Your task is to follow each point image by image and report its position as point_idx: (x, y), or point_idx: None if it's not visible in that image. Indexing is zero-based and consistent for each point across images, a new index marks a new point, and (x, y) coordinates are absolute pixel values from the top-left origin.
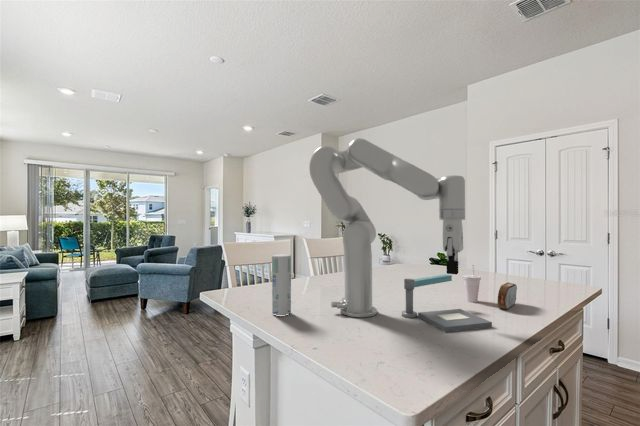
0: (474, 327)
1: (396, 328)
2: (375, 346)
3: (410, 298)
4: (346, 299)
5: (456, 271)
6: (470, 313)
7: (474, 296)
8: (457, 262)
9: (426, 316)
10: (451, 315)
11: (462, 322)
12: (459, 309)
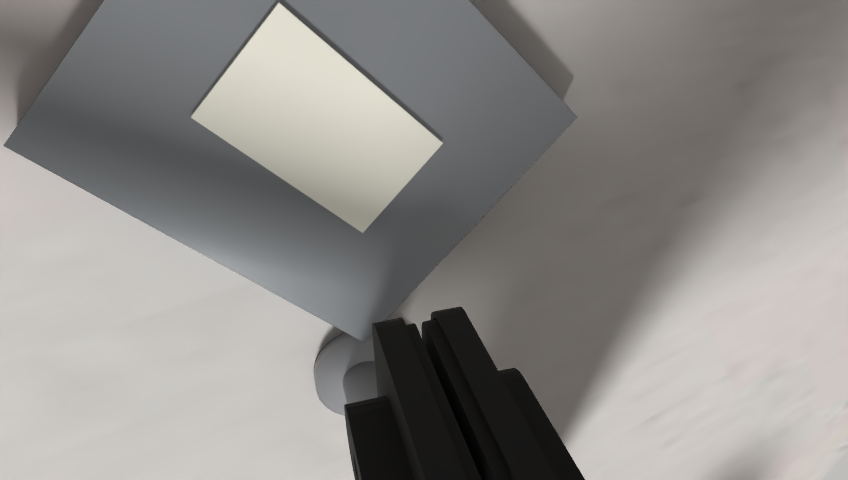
0: None
1: (600, 319)
2: (815, 284)
3: None
4: None
5: (475, 345)
6: (95, 23)
7: None
8: (550, 468)
9: (419, 275)
10: (308, 148)
11: (423, 36)
12: (32, 143)
